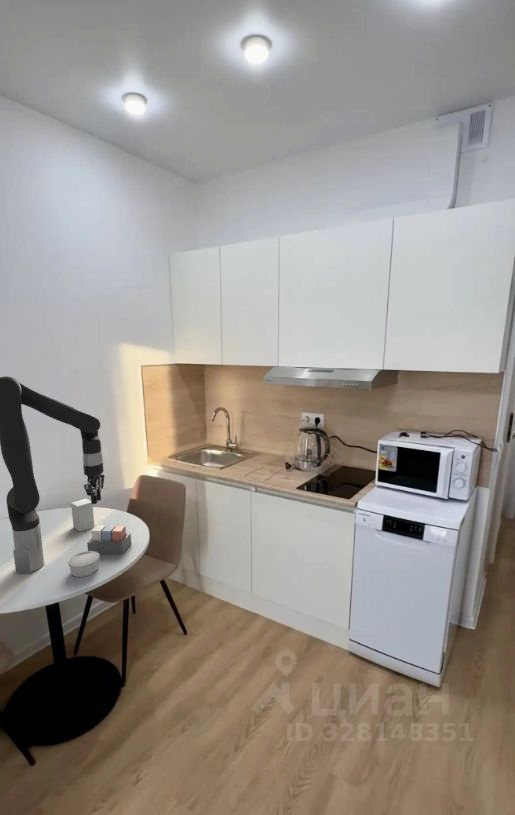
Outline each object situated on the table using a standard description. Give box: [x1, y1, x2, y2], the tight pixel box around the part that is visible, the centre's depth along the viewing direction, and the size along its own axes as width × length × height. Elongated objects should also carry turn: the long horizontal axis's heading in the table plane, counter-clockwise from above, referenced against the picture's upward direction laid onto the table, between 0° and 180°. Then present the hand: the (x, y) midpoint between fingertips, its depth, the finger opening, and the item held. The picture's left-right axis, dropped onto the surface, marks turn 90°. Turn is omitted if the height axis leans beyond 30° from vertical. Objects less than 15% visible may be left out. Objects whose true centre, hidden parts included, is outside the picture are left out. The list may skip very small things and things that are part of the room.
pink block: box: [112, 525, 127, 541], centre depth 165 cm, size 5×4×5 cm
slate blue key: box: [102, 525, 117, 541], centre depth 166 cm, size 5×4×5 cm
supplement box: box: [70, 498, 95, 532], centre depth 186 cm, size 7×7×13 cm
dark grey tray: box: [86, 532, 132, 555], centre depth 166 cm, size 9×15×5 cm, turn 86°
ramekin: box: [67, 550, 101, 578], centre depth 151 cm, size 11×11×5 cm
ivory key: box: [91, 524, 107, 541], centre depth 166 cm, size 5×4×5 cm
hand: (96, 501), depth 164 cm, fingers open, 3 cm apart
